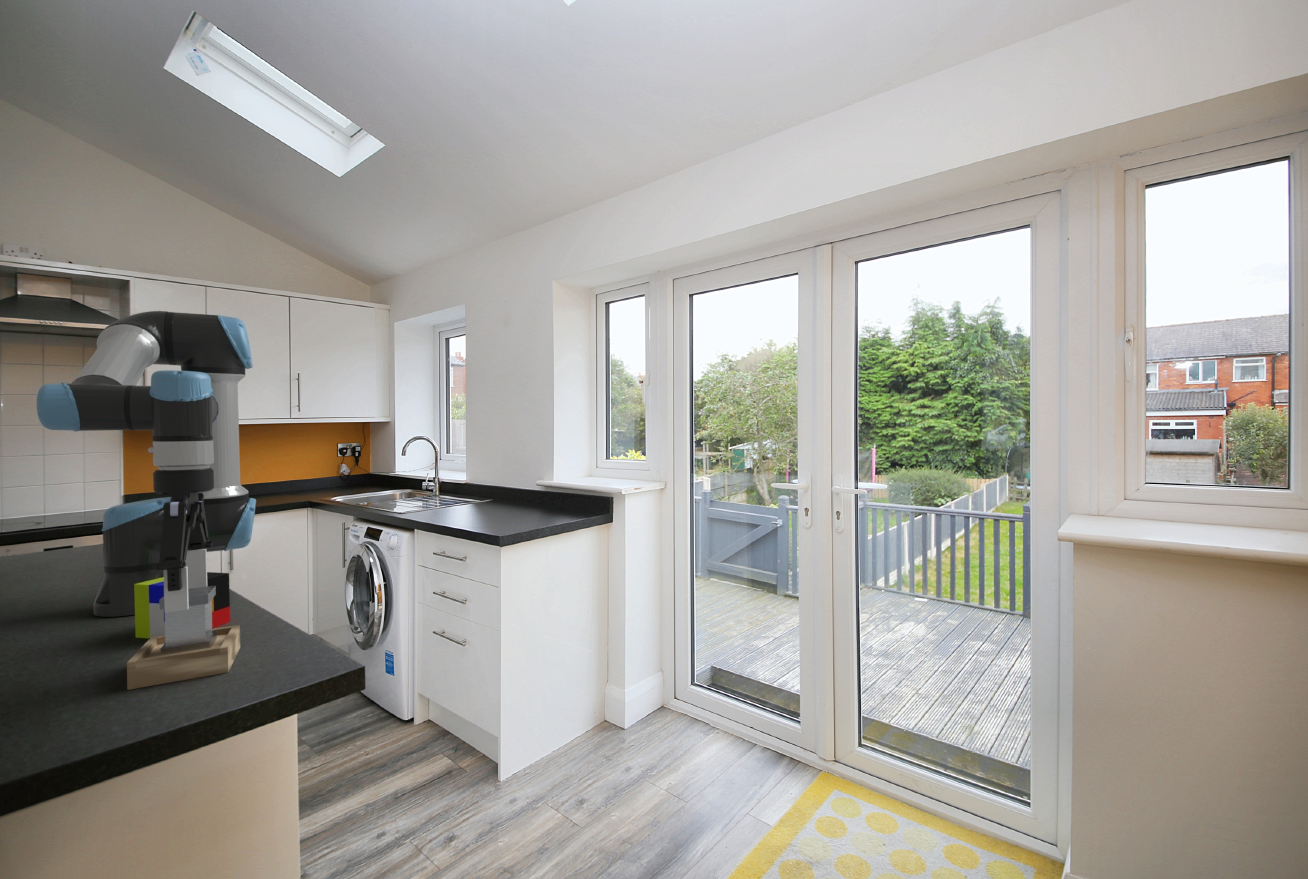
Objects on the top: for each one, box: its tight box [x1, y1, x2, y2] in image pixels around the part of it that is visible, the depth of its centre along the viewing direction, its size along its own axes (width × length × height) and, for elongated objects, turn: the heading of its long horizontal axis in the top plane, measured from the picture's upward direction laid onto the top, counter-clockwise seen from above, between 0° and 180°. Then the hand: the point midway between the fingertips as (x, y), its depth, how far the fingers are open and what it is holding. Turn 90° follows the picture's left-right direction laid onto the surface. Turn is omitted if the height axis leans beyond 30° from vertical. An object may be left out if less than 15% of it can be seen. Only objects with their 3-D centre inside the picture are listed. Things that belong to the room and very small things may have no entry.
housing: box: [159, 586, 217, 656], centre depth 92 cm, size 6×6×10 cm
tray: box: [126, 624, 241, 691], centre depth 92 cm, size 12×12×4 cm
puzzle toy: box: [134, 571, 231, 639], centre depth 110 cm, size 10×10×10 cm
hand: (187, 598), depth 92 cm, fingers open, 13 cm apart
